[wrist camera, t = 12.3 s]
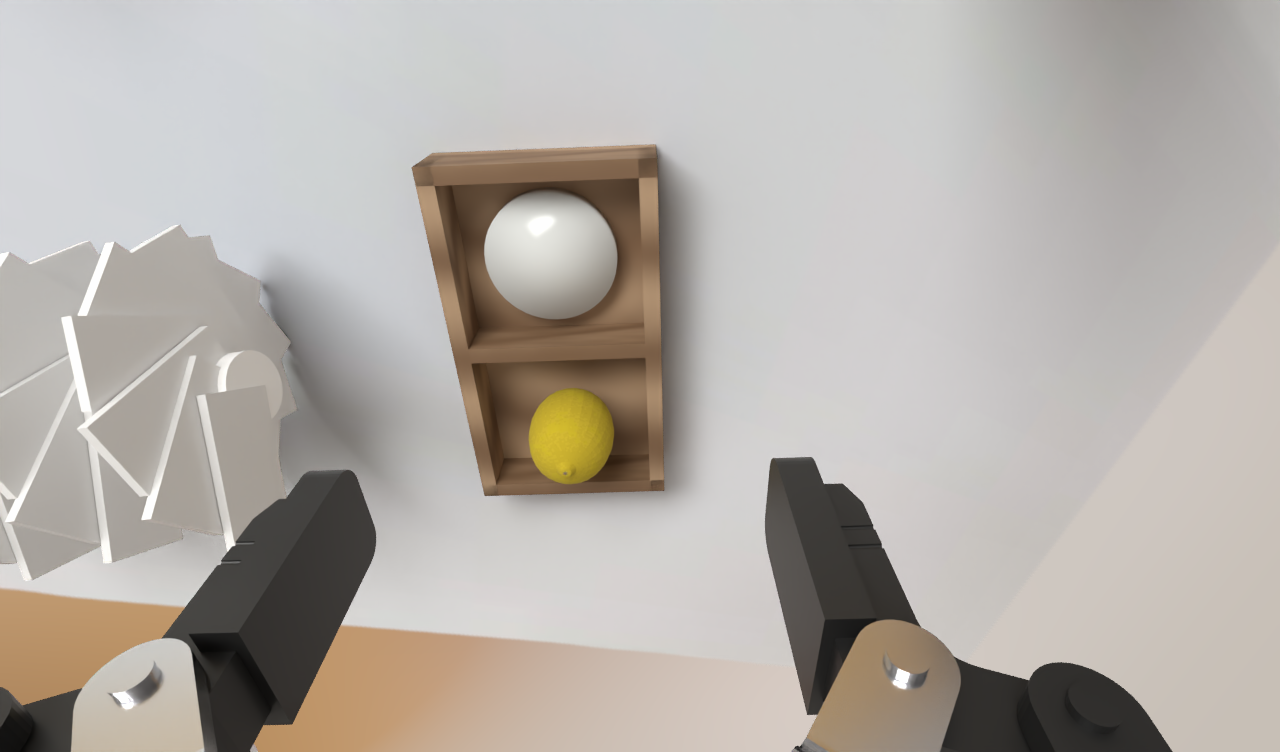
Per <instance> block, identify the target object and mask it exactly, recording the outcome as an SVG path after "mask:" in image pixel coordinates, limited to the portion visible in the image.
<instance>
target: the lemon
mask: <svg viewBox="0 0 1280 752" xmlns="http://www.w3.org/2000/svg"><path fill="white" fill-rule="evenodd" d="M613 439H614V426H613V421H612V416H611V414H610V412H609V410H608V408H607V406H606V405H605V403H604V402H603V401H602V400H601V399H600V398H599V397H598V396H596V395H595V394H593V393H592V392H589V391H587V390H584V389H579V388H566V389H563V390H559V391H556V392H555V393H553V394H551V395H549V396H548V397H547V398H546V399H545V400H544V401H543V402H542V403H541V404H540V405H539V407H538V408H537V410H536V412H535V414H534V415H533V418H532V421H531V425H530V430H529V446H530V453H531V456H532V459H533V461H534V463H535V465H536V467H537V468H538V469H539V470H540V472H541V473H542V474H543V475H545V476H546V477H547V478H549V479H551V480H553V481H555V482H558V483H562V484H577V483H581V482H584V481H587V480H589V479H590V478H592V477H593V476H595V475H596V474H597V473H598V472H599V471H600V470H601V469H602V467H603V466H604V465H605V463H606V461H607V459H608V457H609V455H610V452H611V450H612V446H613Z"/></svg>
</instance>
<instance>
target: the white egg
mask: <svg viewBox="0 0 1280 752" xmlns="http://www.w3.org/2000/svg"><path fill="white" fill-rule="evenodd" d="M484 256H485V263H486V267H487V271H488V273H489V276H490V278H491V280H492V282H493V284H494V286H495V287H496V288H497V290H498V291H499V293H500V294H501V295H502V296H503V297H504V298H505V299H506V300H507V301H508V302H510V303H511V304H512V305H513V306H515V307H516V308H518V309H520V310H521V311H523V312H525V313H528V314H530V315H533V316H536V317H540V318H545V319H566V318H571V317H575V316H578V315H581V314H583V313H585V312H587V311H589V310H590V309H592V308H593V307H595V306H596V305H597V304H598V303H599V302H600V301H601V300H602V299H603V298H604V297H605V296H606V294H607V293H608V291H609V289H610V288H611V286H612V283H613V281H614V278H615V274H616V269H617V260H618V249H617V242H616V238H615V234H614V232H613V229H612V227H611V225H610V223H609V221H608V220H607V218H606V217H605V216H604V214H603V213H602V212H601V211H600V210H599V209H598V208H597V207H596V206H595V205H594V204H593V203H592V202H590V201H589V200H588V199H586V198H584V197H583V196H581V195H579V194H577V193H575V192H572V191H569V190H566V189H561V188H555V187H543V188H536V189H532V190H528V191H526V192H523V193H521V194H519V195H517V196H515V197H514V198H512V199H511V200H510V201H508V202H507V203H506V204H505V205H504V206H503V207H502V208H501V210H500V211H499V212H498V214H497V215H496V217H495V218H494V220H493V221H492V223H491V225H490V227H489V229H488V232H487V235H486V239H485V245H484Z"/></svg>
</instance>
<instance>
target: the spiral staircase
mask: <svg viewBox="0 0 1280 752" xmlns="http://www.w3.org/2000/svg"><path fill="white" fill-rule="evenodd" d="M141 243H142V244H140V245H139V246H137V247H135V248H133V249H132V250H130V251H128V250H127V249H125V248H123V247H122V246H120V245H119V244H117V243H116V242H110V243H105V246H104V248H103V251H102V253H101V254H98V253H97V251H96V250H95V248H94V247H93V245H92V243H91V242H90V241H85V242H81V243H78V244H76V245H73V246H71V247H68V248H66V249H63V250H61V251H58V252H56V253H53V254H51V255H48V256H45V257H43V258H40V259H38V260H35V261H33V262H30V263H27V262H25V261H24V260H22V259H20V258H19V257H17V256H15V255H14V254H12V253H10V252H7V253H1V254H0V564H14V563H18V565H19V568H20V571H21V573H22V576H23V579H24V581H29V580H34V579H36V578H38V577H40V576H42V575H44V574H46V573H48V572H50V571H52V570H54V569H56V568H58V567H60V566H62V565H64V564H66V563H68V562H70V561H72V560H74V559H76V558H78V557H80V556H82V555H84V554H86V553H88V552H90V551H92V550H94V549H96V548H98V547H100V546H101V547H102V555H103V562H104V563H112V562H115V561H118V560H121V559H124V558H127V557H130V556H133V555H136V554H139V553H142V552H145V551H148V550H151V549H154V548H157V547H160V546H163V545H166V544H169V543H172V542H175V541H178V540H181V539H183V536H182V529H186V530H191V531H196V532H200V533H205V534H210V535H223V532H224V537H225V542H226V547H227V552H228V551H229V550H230V548H231V547H232V546H235V545H236V540H237V539H238V538H239V536H240V535H241V534H242V533H243V531H244V530H245V529H246V527H247V526H248V525H249V523H250V522H251V521H252V519H253V518H255V517H256V516H257V515H259V514H260V513H261V512H263V511H264V510H265V509H266V508H268V507H269V506H270V505H272V504H273V503H274V502H275V501H277V500H278V499H286V492H285V487H284V482H283V476H282V471H281V466H280V461H279V443H280V425H281V419H282V418H284V417H286V416H287V415H289V414H291V413H293V412H295V411H296V410H297V407H296V404H295V401H294V398H293V395H292V392H291V389H290V386H289V382H288V379H287V376H286V373H285V370H284V367H283V364H282V361H281V359H282V357H283V356H284V354H285V352H286V350H287V349H288V347H289V345H290V343H291V341H290V340H289V339H288V338H287V336H286V335H285V334H284V333H283V332H282V330H281V329H280V328H279V327H278V325H277V324H276V323H275V322H274V321H273V319H272V318H271V317H270V316H269V314H268V313H267V312H266V311H265V310H264V308H263V307H262V306H261V305H260V303H259V298H260V283H261V281H260V280H258V279H256V278H254V277H252V276H250V275H248V274H246V273H244V272H242V271H240V270H238V269H236V268H234V267H232V266H230V265H228V264H226V263H224V262H222V261H220V260H218V258H217V255H216V252H215V249H214V246H213V243H212V240H211V237H210V236H199V237H188V236H187V235H186V233H185V232H184V230H183V228H182V227H181V225H175V226H171V227H170V228H168V229H166V230H164V231H163V232H161V233H159V234H158V235H156V236H154V237H152V238H151V239H149V240H147V241H145V242H141Z"/></svg>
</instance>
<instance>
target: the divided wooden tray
mask: <svg viewBox="0 0 1280 752" xmlns="http://www.w3.org/2000/svg"><path fill="white" fill-rule="evenodd" d="M412 171H413V176H414V180H415V185H416V189H417V194H418V198H419V203H420V207H421V212H422V216H423V221H424V225H425V230H426V234H427V239H428V243H429V248H430V252H431V257H432V261H433V266H434V270H435V275H436V279H437V284H438V288H439V293H440V297H441V302H442V306H443V311H444V315H445V320H446V324H447V329H448V333H449V338H450V342H451V347H452V351H453V356H454V360H455V365H456V369H457V374H458V378H459V383H460V387H461V392H462V396H463V401H464V405H465V410H466V414H467V419H468V423H469V428H470V432H471V437H472V441H473V446H474V450H475V455H476V459H477V464H478V468H479V473H480V477H481V482H482V486H483V491H484V495H485V496H499V495H533V494H566V493H600V492H634V491H664V457H663V409H662V362H661V314H660V267H659V219H658V172H657V153H656V145H630V146H604V147H578V148H553V149H527V150H502V151H476V152H450V153H432V154H431V155H429V156H428V157H426V158H425V159H423V160H422V161H420V162H419V163H417V164H416V165H414V166H413V167H412ZM543 187H555V188H561V189H566V190H569V191H572V192H575V193H577V194H579V195H581V196H583V197H584V198H586V199H588V200H589V201H590V202H592V203H593V204H594V205H595V206H596V207H597V208H598V209H599V210H600V211H601V212H602V213H603V214H604V216H605V217H606V218H607V220H608V221H609V223H610V225H611V227H612V229H613V232H614V234H615V238H616V242H617V249H618V260H617V269H616V274H615V278H614V281H613V283H612V286H611V288H610V289H609V291H608V293H607V294H606V296H605V297H604V298H603V299H602V300H601V301H600V302H599V303H598V304H597V305H596V306H595V307H593V308H592V309H590V310H589V311H587V312H585V313H583V314H581V315H578V316H575V317H571V318H566V319H545V318H540V317H536V316H533V315H530V314H528V313H525V312H523V311H521V310H520V309H518V308H516V307H515V306H513V305H512V304H511V303H510V302H508V301H507V300H506V299H505V298H504V297H503V296H502V295H501V294H500V293H499V291H498V290H497V288H496V287H495V286H494V284H493V282H492V280H491V278H490V276H489V273H488V271H487V267H486V263H485V256H484V245H485V239H486V235H487V232H488V229H489V227H490V225H491V223H492V221H493V220H494V218H495V217H496V215H497V214H498V212H499V211H500V210H501V208H502V207H503V206H504V205H505V204H506V203H507V202H508V201H510V200H511V199H512V198H514V197H515V196H517V195H519V194H521V193H523V192H526V191H528V190H532V189H536V188H543ZM566 388H579V389H584V390H587V391H589V392H592V393H593V394H595V395H596V396H598V397H599V398H600V399H601V400H602V401H603V402H604V403H605V405H606V406H607V408H608V410H609V412H610V414H611V416H612V421H613V426H614V439H613V446H612V450H611V452H610V455H609V457H608V459H607V461H606V463H605V465H604V466H603V467H602V469H601V470H600V471H599V472H598V473H597V474H596V475H595V476H593V477H592V478H590V479H589V480H587V481H584V482H581V483H577V484H562V483H558V482H555V481H553V480H551V479H549V478H547V477H546V476H545V475H543V474H542V473H541V472H540V470H539V469H538V468H537V467H536V465H535V463H534V461H533V459H532V456H531V453H530V446H529V430H530V425H531V421H532V418H533V415H534V414H535V412H536V410H537V408H538V407H539V405H540V404H541V403H542V402H543V401H544V400H545V399H546V398H547V397H548V396H549V395H551V394H553V393H555V392H556V391H559V390H563V389H566Z"/></svg>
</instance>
